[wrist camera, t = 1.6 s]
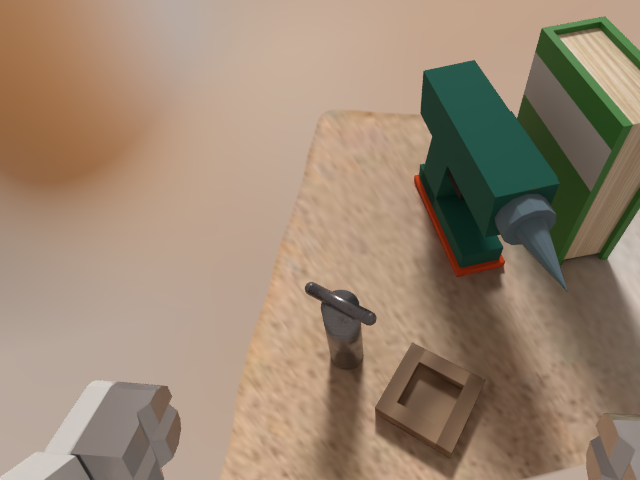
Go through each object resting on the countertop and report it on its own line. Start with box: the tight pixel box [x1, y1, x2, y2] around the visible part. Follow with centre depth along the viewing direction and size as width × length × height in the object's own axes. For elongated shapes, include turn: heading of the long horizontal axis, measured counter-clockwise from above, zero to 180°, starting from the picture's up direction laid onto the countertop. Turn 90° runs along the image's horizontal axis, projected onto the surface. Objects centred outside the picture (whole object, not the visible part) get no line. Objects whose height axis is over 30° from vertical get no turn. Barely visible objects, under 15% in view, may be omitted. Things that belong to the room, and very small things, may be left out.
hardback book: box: [517, 17, 640, 265], centre depth 60 cm, size 18×7×24 cm, turn 9°
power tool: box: [414, 60, 568, 292], centre depth 59 cm, size 32×7×20 cm, turn 11°
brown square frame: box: [375, 343, 485, 458], centre depth 55 cm, size 9×9×2 cm
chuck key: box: [305, 282, 376, 370], centre depth 55 cm, size 8×4×13 cm, turn 57°
